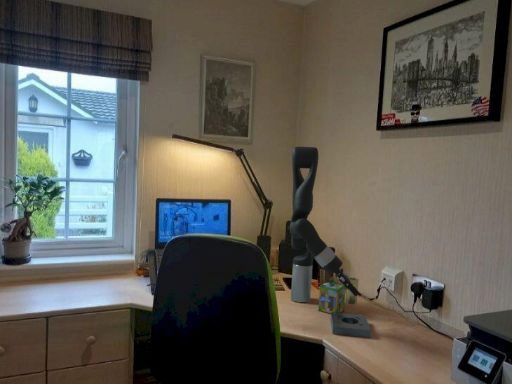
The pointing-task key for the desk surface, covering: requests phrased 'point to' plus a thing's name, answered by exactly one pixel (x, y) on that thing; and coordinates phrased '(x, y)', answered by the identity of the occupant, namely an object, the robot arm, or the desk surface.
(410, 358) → the desk surface
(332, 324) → the jig plate
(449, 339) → the desk surface
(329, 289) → the chalk box
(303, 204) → the robot arm
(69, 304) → the desk surface
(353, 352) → the desk surface
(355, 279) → the brass sleeve
